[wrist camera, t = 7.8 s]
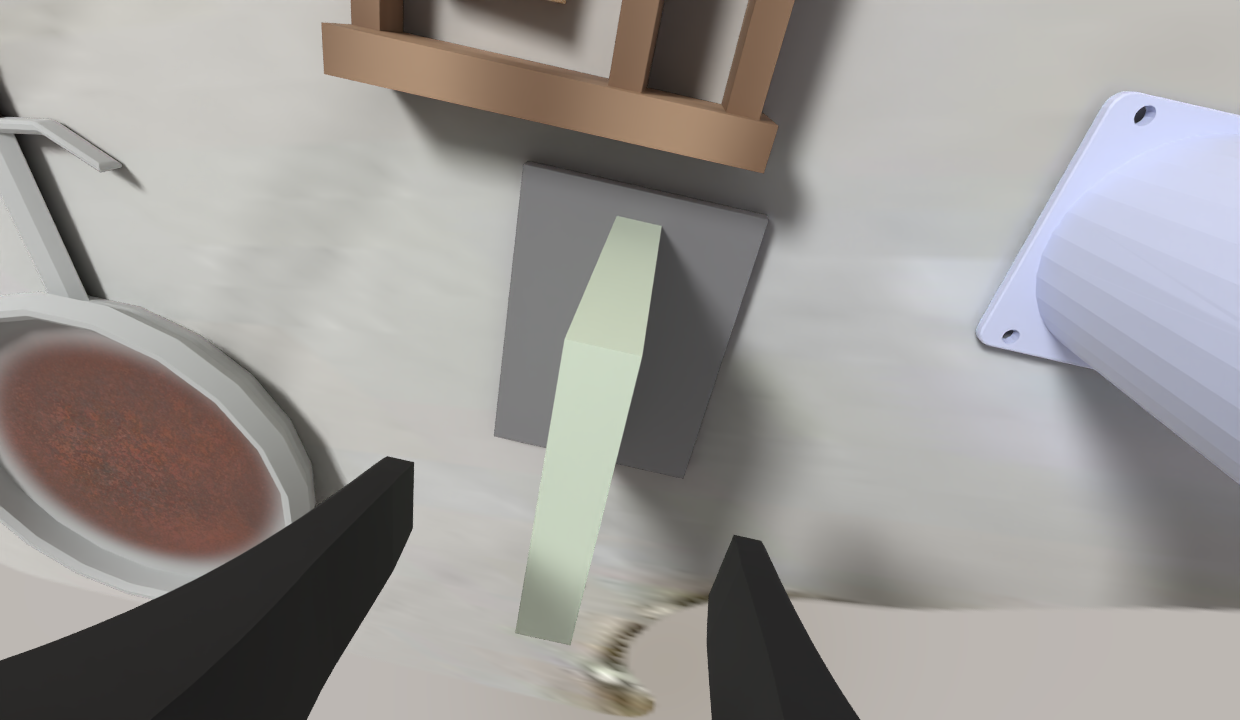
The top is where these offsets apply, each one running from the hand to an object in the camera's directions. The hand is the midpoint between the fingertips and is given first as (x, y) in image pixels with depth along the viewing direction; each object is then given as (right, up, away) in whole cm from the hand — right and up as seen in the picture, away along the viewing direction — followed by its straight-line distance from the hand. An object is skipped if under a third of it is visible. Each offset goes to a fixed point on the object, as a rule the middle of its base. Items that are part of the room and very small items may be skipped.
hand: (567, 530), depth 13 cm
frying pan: (-21, +5, +12) cm, 24 cm away
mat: (+1, +5, +9) cm, 10 cm away
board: (+1, +5, +8) cm, 9 cm away
